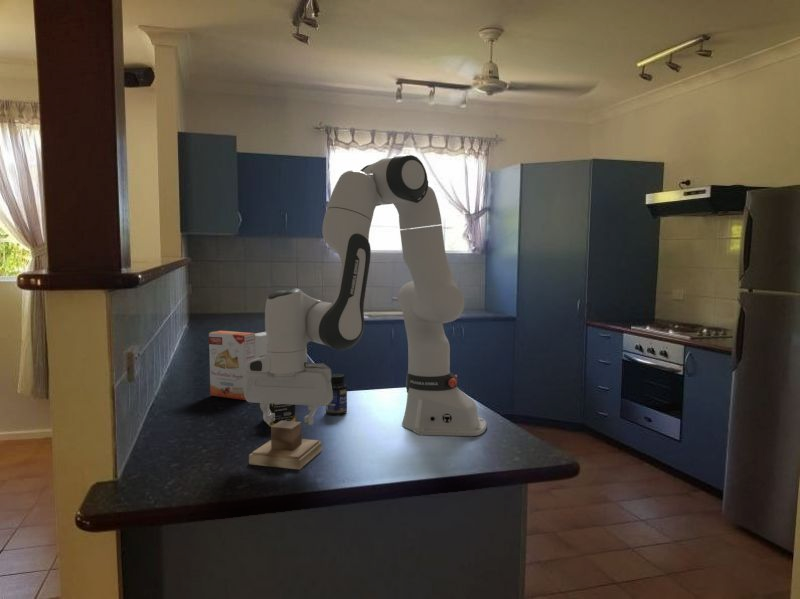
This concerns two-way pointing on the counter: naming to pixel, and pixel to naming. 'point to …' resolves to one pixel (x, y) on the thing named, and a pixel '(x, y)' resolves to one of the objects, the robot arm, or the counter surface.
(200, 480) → the counter surface
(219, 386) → the cracker box
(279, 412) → the medicine bottle
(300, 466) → the square wooden base
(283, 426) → the cube
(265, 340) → the skincare box
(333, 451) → the counter surface
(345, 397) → the pill bottle
